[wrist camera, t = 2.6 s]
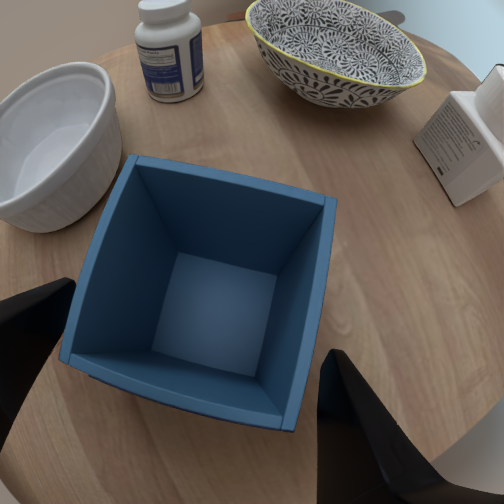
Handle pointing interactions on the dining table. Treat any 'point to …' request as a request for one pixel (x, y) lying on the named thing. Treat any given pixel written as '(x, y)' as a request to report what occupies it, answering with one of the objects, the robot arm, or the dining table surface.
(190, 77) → the pill bottle
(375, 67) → the bowl
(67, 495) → the dining table surface
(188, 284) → the blue bin
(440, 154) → the container
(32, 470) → the dining table surface
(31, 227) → the ramekin
